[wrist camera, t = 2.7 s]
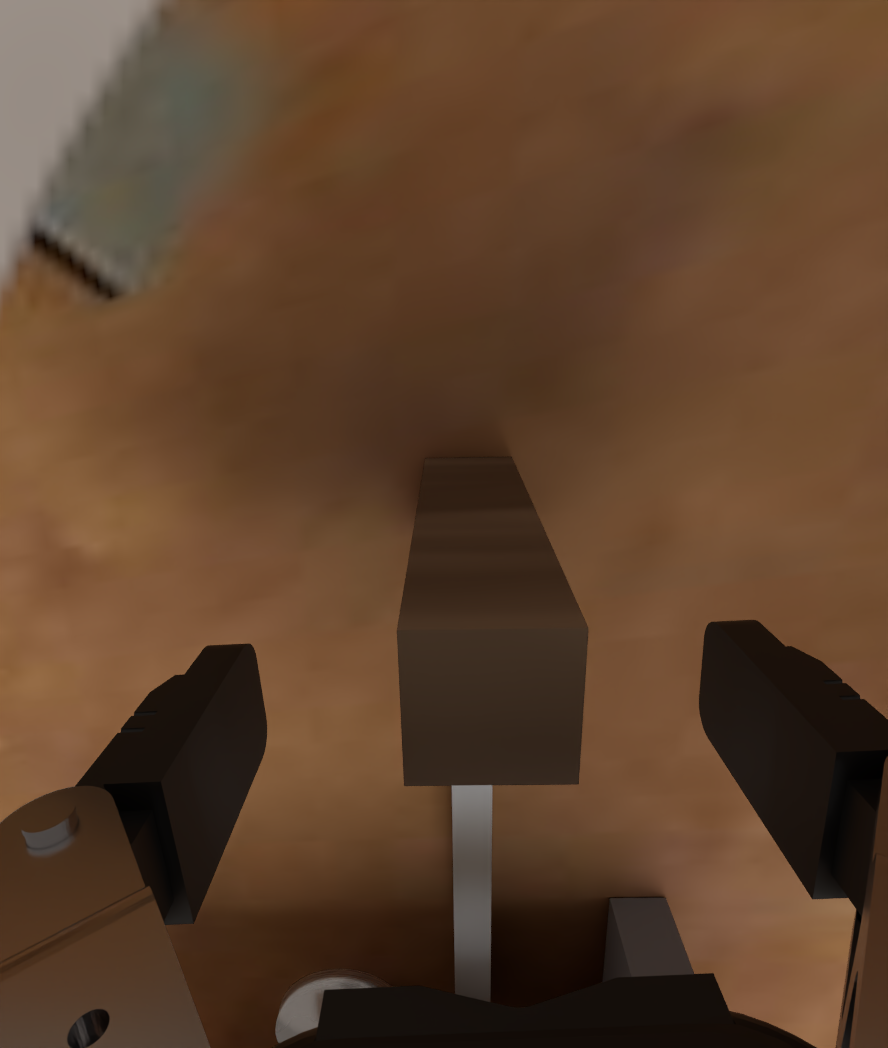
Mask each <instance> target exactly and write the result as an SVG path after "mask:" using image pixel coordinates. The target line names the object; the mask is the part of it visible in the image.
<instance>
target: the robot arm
mask: <svg viewBox="0 0 888 1048" xmlns="http://www.w3.org/2000/svg"><path fill="white" fill-rule="evenodd" d="M699 710H700V717H701V721H702V725H703V728H704V731H705V733H706V735H707V737H708V739H709V740H710V742H711V743H712V745H713V746H714V748H715V750H716V751H717V753H718V754H719V756H720V757H721V759H722V760H723V762H724V763H725V765H726V766H727V768H728V770H729V771H730V773H731V774H732V776H733V777H734V779H735V780H736V782H737V783H738V785H739V787H740V788H741V790H742V791H743V793H744V794H745V796H746V797H747V799H748V800H749V802H750V804H751V805H752V807H753V808H754V810H755V811H756V813H757V814H758V816H759V817H760V819H761V821H762V822H763V824H764V825H765V827H766V828H767V830H768V831H769V833H770V834H771V836H772V838H773V839H774V841H775V842H776V844H777V845H778V847H779V848H780V850H781V851H782V853H783V854H784V856H785V858H786V859H787V861H788V862H789V864H790V865H791V867H792V868H793V870H794V871H795V873H796V875H797V876H798V878H799V879H800V881H801V882H802V884H803V885H804V887H805V888H806V890H807V892H808V893H809V895H810V896H811V898H812V899H830V898H849V899H850V901H851V902H852V904H853V905H854V906H855V908H856V913H855V918H854V923H853V928H852V935H851V942H850V949H849V957H848V964H847V971H846V978H845V985H844V992H843V999H842V1006H841V1013H840V1020H839V1027H838V1034H837V1041H836V1048H888V720H887V719H886V718H885V717H884V716H883V715H882V714H881V713H879V712H878V711H877V710H876V709H875V708H874V707H873V706H871V705H870V704H869V703H868V702H867V701H866V700H865V699H860V695H859V694H858V693H857V692H856V691H854V690H853V689H852V688H851V687H850V686H849V685H848V684H846V683H842V679H841V678H840V677H839V676H837V675H836V674H835V673H834V672H833V671H832V670H831V669H829V668H828V667H827V666H826V665H825V664H824V663H823V662H822V661H820V660H818V659H816V658H814V657H812V656H810V655H808V654H806V653H804V652H802V651H800V650H798V649H796V648H794V647H792V646H787V647H785V646H784V645H783V644H782V643H781V642H780V641H779V640H778V639H777V638H776V637H775V636H774V635H773V634H772V633H770V632H769V631H768V630H767V629H766V628H765V627H764V626H763V625H762V624H761V623H760V622H758V621H756V620H740V621H719V622H710V623H709V624H708V625H707V627H706V630H705V635H704V645H703V657H702V670H701V682H700V694H699ZM266 740H267V720H266V713H265V707H264V701H263V695H262V689H261V682H260V676H259V670H258V664H257V658H256V653H255V650H254V648H253V646H252V645H251V644H231V645H210V646H206V647H205V648H204V649H203V650H202V652H201V653H200V654H199V656H198V657H197V658H196V660H195V661H194V662H193V664H192V665H191V666H190V668H189V669H188V670H187V672H186V673H185V675H175V676H173V677H172V678H170V679H169V680H167V681H166V682H164V683H163V684H162V685H160V686H159V687H157V688H156V689H154V690H153V691H151V692H150V693H149V694H148V696H147V697H146V698H145V699H144V701H143V702H142V703H141V704H140V706H139V707H138V708H137V709H136V711H135V712H134V716H131V717H130V718H129V719H128V721H127V722H126V723H125V724H124V726H123V727H122V728H121V733H117V734H116V736H115V737H114V738H113V739H112V741H111V742H110V743H109V744H108V746H107V747H106V748H105V749H104V751H103V752H102V753H101V754H100V756H99V757H98V758H97V759H96V761H95V762H94V763H93V764H92V766H91V767H90V768H89V769H88V771H87V772H86V773H85V775H84V776H83V777H82V778H81V780H80V781H79V782H78V783H77V785H76V786H75V787H70V788H65V789H61V790H57V791H54V792H51V793H49V794H46V795H44V796H41V797H39V798H37V799H35V800H33V801H31V802H29V803H27V804H25V805H24V806H22V807H21V808H19V809H17V810H16V811H14V812H13V813H12V814H10V815H9V816H8V817H7V818H5V819H4V820H3V821H2V822H1V823H0V1048H211V1047H210V1045H209V1042H208V1039H207V1037H206V1034H205V1031H204V1028H203V1026H202V1023H201V1020H200V1018H199V1015H198V1012H197V1010H196V1007H195V1004H194V1002H193V999H192V996H191V994H190V991H189V988H188V986H187V983H186V980H185V978H184V975H183V972H182V970H181V967H180V964H179V962H178V959H177V956H176V954H175V951H174V948H173V945H172V943H171V940H170V937H169V935H168V932H167V929H166V927H165V925H173V924H194V922H195V919H196V917H197V914H198V912H199V910H200V907H201V905H202V902H203V900H204V898H205V895H206V893H207V890H208V888H209V886H210V883H211V881H212V878H213V876H214V873H215V871H216V869H217V866H218V864H219V861H220V859H221V857H222V854H223V852H224V849H225V847H226V845H227V842H228V840H229V837H230V835H231V833H232V830H233V828H234V825H235V823H236V821H237V818H238V816H239V813H240V811H241V809H242V806H243V804H244V801H245V799H246V797H247V794H248V792H249V789H250V787H251V784H252V782H253V780H254V777H255V775H256V772H257V770H258V768H259V765H260V763H261V760H262V758H263V755H264V752H265V747H266ZM272 1048H816V1047H815V1046H813V1045H811V1044H809V1043H808V1042H806V1041H804V1040H802V1039H801V1038H799V1037H797V1036H795V1035H793V1034H791V1033H789V1032H787V1031H785V1030H782V1029H780V1028H778V1027H776V1026H774V1025H771V1024H769V1023H767V1022H764V1021H761V1020H758V1019H755V1018H752V1017H749V1016H746V1015H744V1014H740V1013H736V1012H732V1011H729V1010H728V1007H727V1005H726V1002H725V1000H724V998H723V995H722V993H721V991H720V988H719V986H718V983H717V981H716V979H715V976H714V974H713V973H710V974H686V975H662V976H638V977H617V978H614V979H611V980H608V981H605V982H602V983H599V984H596V985H593V986H590V987H587V988H584V989H581V990H578V991H575V992H572V993H569V994H566V995H563V996H560V997H557V998H554V999H551V1000H548V1001H545V1002H542V1003H539V1004H536V1005H533V1006H529V1007H523V1008H516V1007H509V1006H505V1005H501V1004H496V1003H492V1002H488V1001H483V1000H479V999H475V998H470V997H466V996H462V995H457V994H453V993H449V992H444V991H440V990H436V989H431V988H427V987H423V986H400V987H377V988H353V989H329V990H324V995H323V1000H322V1006H321V1012H320V1017H319V1023H318V1027H316V1028H313V1029H310V1030H307V1031H304V1032H302V1033H300V1034H298V1035H295V1036H293V1037H291V1038H289V1039H287V1040H285V1041H283V1042H280V1043H279V1044H277V1045H275V1046H274V1047H272Z"/></svg>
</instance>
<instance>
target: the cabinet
mask: <svg viewBox="0 0 888 1048" xmlns="http://www.w3.org/2000/svg"><path fill="white" fill-rule="evenodd" d="M686 974H694V972H693V969H692V967H691V964H690V961H689V959H688V956H687V953H686V951H685V948H684V945H683V943H682V940H681V937H680V935H679V932H678V929H677V927H676V924H675V921H674V919H673V916H672V913H671V911H670V908H669V905H668V903H667V900H666V898H610V901H609V913H608V924H607V935H606V947H605V958H604V969H603V981H602V982H605V981H608V980H611V979H614V978H617V977H638V976H662V975H686Z"/></svg>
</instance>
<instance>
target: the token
mask: <svg viewBox="0 0 888 1048" xmlns="http://www.w3.org/2000/svg"><path fill="white" fill-rule="evenodd" d="M377 987H392V986H391V985H390V984H388V983H387V982H385V981H384V980H382V979H380V978H378V977H376V976H374V975H371V974H369V973H366V972H362V971H357V970H351V969H329V970H322V971H318V972H315V973H312V974H309V975H307V976H305V977H303V978H301V979H299V980H298V981H297V982H295V983H294V984H293V985H292V986H291V987H290V988H289V989H288V990H287V991H286V993H285V995H284V996H283V998H282V1001H281V1005H280V1009H279V1013H278V1017H277V1021H276V1027H275V1030H276V1037H277V1041H278V1043H280V1042H283V1041H285V1040H287V1039H289V1038H291V1037H293V1036H295V1035H298V1034H300V1033H302V1032H304V1031H307V1030H310V1029H313V1028H316V1027H318V1023H319V1017H320V1012H321V1006H322V1000H323V995H324V990H329V989H353V988H377Z"/></svg>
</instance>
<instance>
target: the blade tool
mask: <svg viewBox="0 0 888 1048" xmlns="http://www.w3.org/2000/svg"><path fill="white" fill-rule="evenodd" d="M397 642H398V664H399V685H400V707H401V728H402V750H403V772H404V786H452V833H453V894H454V954H455V994H457V995H462V996H466V997H470V998H475V999H479V1000H483V1001H488V1002H490V991H491V879H492V785H567V784H579V770H580V754H581V738H582V722H583V707H584V691H585V675H586V659H587V643H588V626H587V624H586V622H585V619H584V617H583V615H582V613H581V610H580V608H579V606H578V604H577V601H576V599H575V597H574V595H573V593H572V590H571V588H570V586H569V584H568V581H567V579H566V577H565V575H564V572H563V570H562V568H561V566H560V564H559V561H558V559H557V557H556V555H555V552H554V550H553V548H552V546H551V543H550V541H549V539H548V537H547V535H546V532H545V530H544V528H543V526H542V523H541V521H540V519H539V517H538V515H537V512H536V510H535V508H534V506H533V503H532V501H531V499H530V497H529V494H528V492H527V490H526V488H525V486H524V483H523V481H522V479H521V477H520V474H519V472H518V470H517V468H516V465H515V463H514V461H513V459H512V457H466V458H425V463H424V469H423V475H422V481H421V487H420V493H419V499H418V505H417V511H416V518H415V524H414V530H413V536H412V542H411V548H410V554H409V560H408V566H407V572H406V578H405V585H404V591H403V597H402V603H401V609H400V615H399V621H398V627H397Z"/></svg>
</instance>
